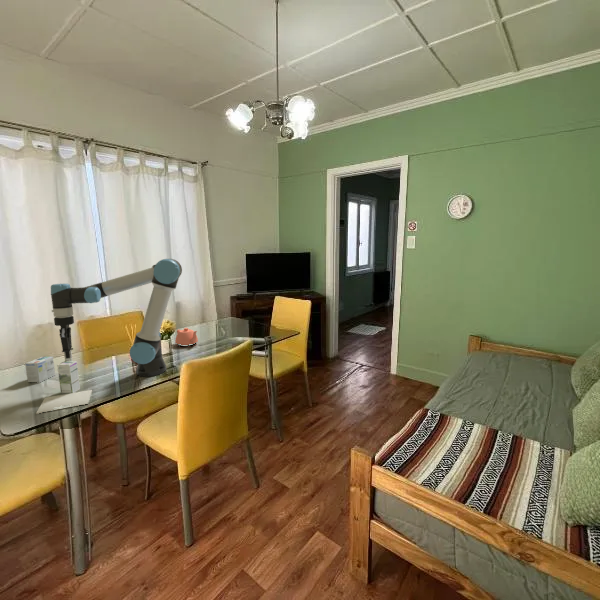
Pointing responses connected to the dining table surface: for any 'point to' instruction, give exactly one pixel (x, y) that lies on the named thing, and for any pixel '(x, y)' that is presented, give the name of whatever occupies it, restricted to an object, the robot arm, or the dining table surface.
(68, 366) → the syrup box
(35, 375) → the light bulb box
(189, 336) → the teapot
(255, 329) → the dining table surface
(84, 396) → the mat
